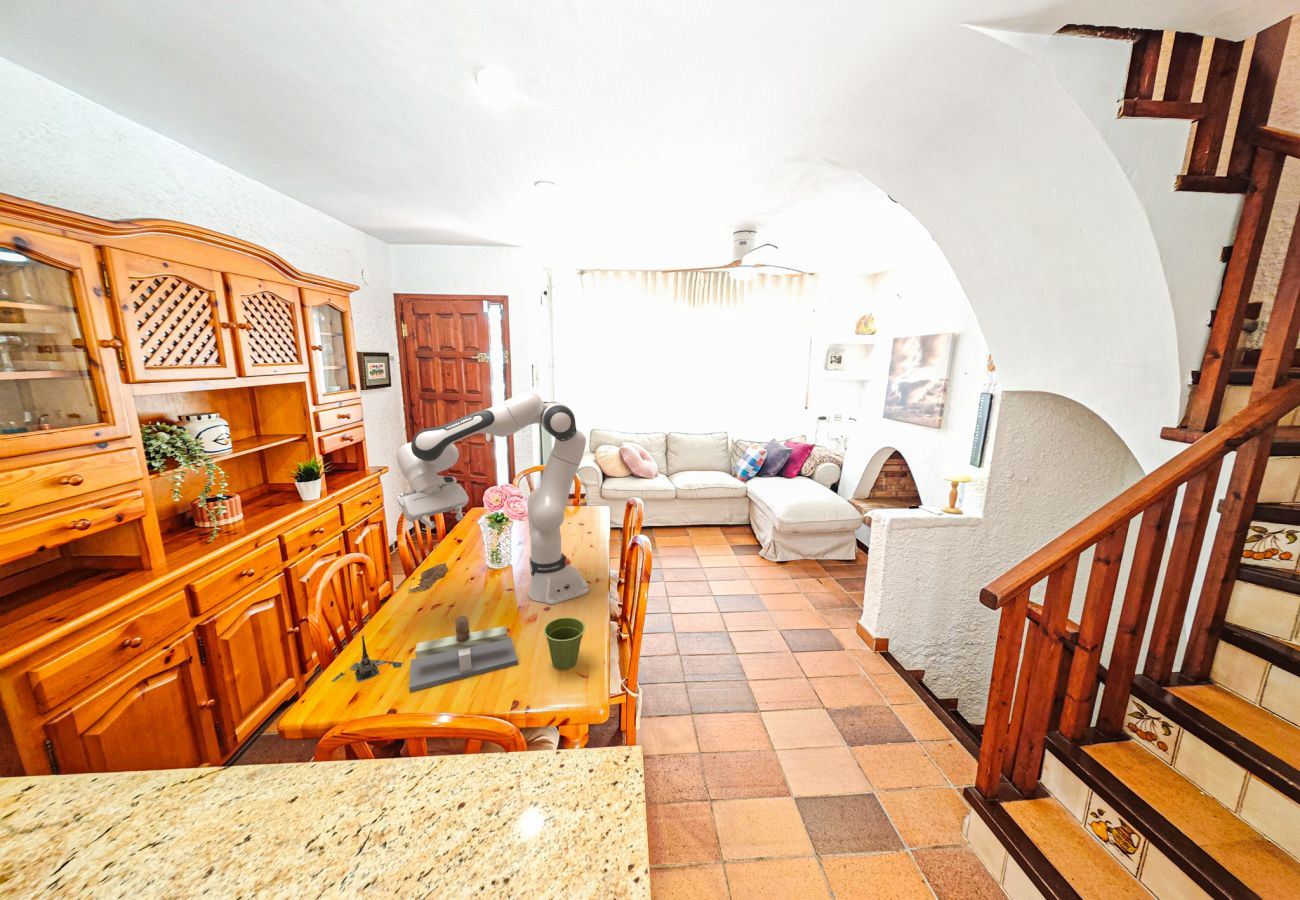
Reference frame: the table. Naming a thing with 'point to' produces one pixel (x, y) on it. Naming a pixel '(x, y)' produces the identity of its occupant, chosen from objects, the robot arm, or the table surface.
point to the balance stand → (461, 664)
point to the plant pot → (564, 641)
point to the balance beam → (461, 639)
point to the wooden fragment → (430, 577)
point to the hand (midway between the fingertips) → (447, 523)
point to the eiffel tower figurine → (367, 666)
